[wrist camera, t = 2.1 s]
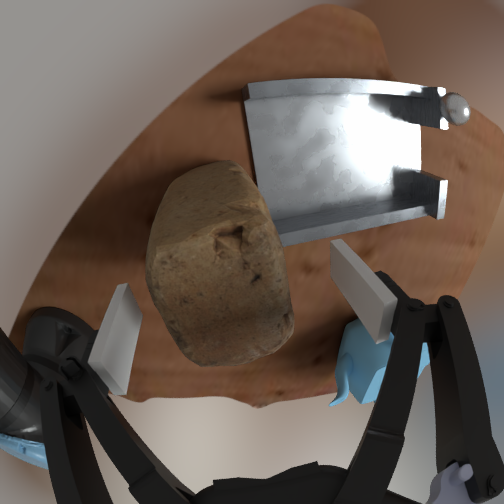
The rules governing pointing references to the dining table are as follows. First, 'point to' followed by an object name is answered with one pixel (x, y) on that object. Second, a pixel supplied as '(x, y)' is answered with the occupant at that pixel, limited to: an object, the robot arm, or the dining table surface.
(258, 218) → the brown blocky piece
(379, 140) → the dock
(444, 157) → the dining table surface
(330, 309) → the dining table surface
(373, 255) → the dining table surface
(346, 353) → the teapot
